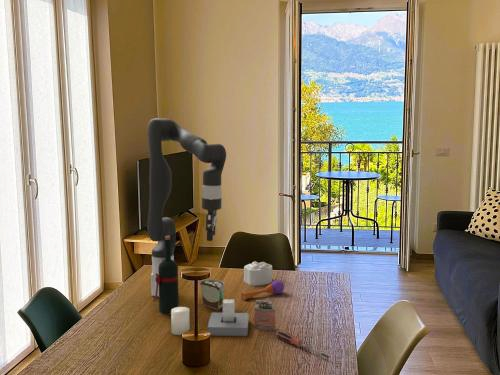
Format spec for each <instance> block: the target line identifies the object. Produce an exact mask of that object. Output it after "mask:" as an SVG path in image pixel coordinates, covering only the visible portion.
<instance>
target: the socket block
mask: <svg viewBox="0 0 500 375" xmlns="http://www.w3.org/2000/svg"><path fill="white" fill-rule="evenodd" d="M249 318H250V314H249V312H235V323H223V312H211V313H210V317H209V320H208V323H207V324H208V325H207V327H206V328H207V329H206V331H208V332H210V333H211V335H210V336H220V337H221V336H225V337H226V336H232V337H234V336H235V337H236V336H237V337H247V336H248V332H249V322H250V319H249Z"/></svg>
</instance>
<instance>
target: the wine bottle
mask: <svg viewBox="0 0 500 375" xmlns="http://www.w3.org/2000/svg"><path fill="white" fill-rule="evenodd" d="M155 281H156V283H157V284H156V295H155V296H154V297H153V301H152V302H154V303H155V302H156V301H157V298H158V311H159V314H160V313H161V314H164V315H171V310H172V309H173V308H176V307H180V305H179V304H180V302H179V300H180V299H179V298H180V297H179V266H178V264H177V262H176V261H175V260H174V261H173V260H171V239H170V236H165V260H164V261H162V262H161V263H160V264H159V275H158V274H157V273H156V277H155ZM158 284H159V297H157V293H158Z"/></svg>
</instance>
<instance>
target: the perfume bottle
mask: <svg viewBox="0 0 500 375" xmlns="http://www.w3.org/2000/svg"><path fill="white" fill-rule="evenodd" d="M253 312H254V316H253V317H254V318H253V320H254V322H253V327H254V328H255V329H260V330H267V331H268V330H269V331H273V330H276V308H275V307H274V306H273V302H272V301H268V300H264V301H263V300H258V299H256V300H255V305H254V306H253Z"/></svg>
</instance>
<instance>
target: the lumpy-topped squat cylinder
mask: <svg viewBox="0 0 500 375" xmlns="http://www.w3.org/2000/svg"><path fill="white" fill-rule="evenodd" d="M243 282H244V283H246V284H248V285H249V286H252V285H253V287H254V286H265V285H269V284H271V283H272V282H273V265H272V264H269V263H267V262H265V261H261V262H257V261H253V262H252V263H248V264H246V265H244V267H243Z"/></svg>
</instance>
